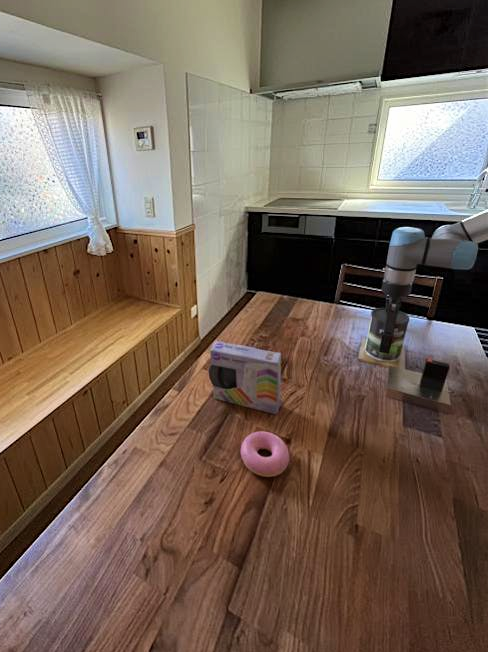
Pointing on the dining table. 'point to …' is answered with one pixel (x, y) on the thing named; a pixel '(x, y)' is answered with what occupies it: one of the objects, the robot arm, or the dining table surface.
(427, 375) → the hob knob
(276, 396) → the cake pan box
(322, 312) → the dining table surface
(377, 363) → the plate
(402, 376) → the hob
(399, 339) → the coffee can
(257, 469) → the doughnut
